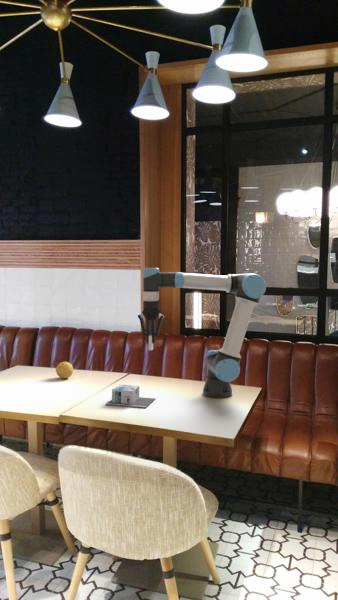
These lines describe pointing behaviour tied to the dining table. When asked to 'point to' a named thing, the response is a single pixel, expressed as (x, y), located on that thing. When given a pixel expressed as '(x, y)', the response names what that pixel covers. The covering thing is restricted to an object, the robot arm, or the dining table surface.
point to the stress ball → (64, 370)
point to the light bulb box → (125, 394)
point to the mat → (140, 403)
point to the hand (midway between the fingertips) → (150, 349)
